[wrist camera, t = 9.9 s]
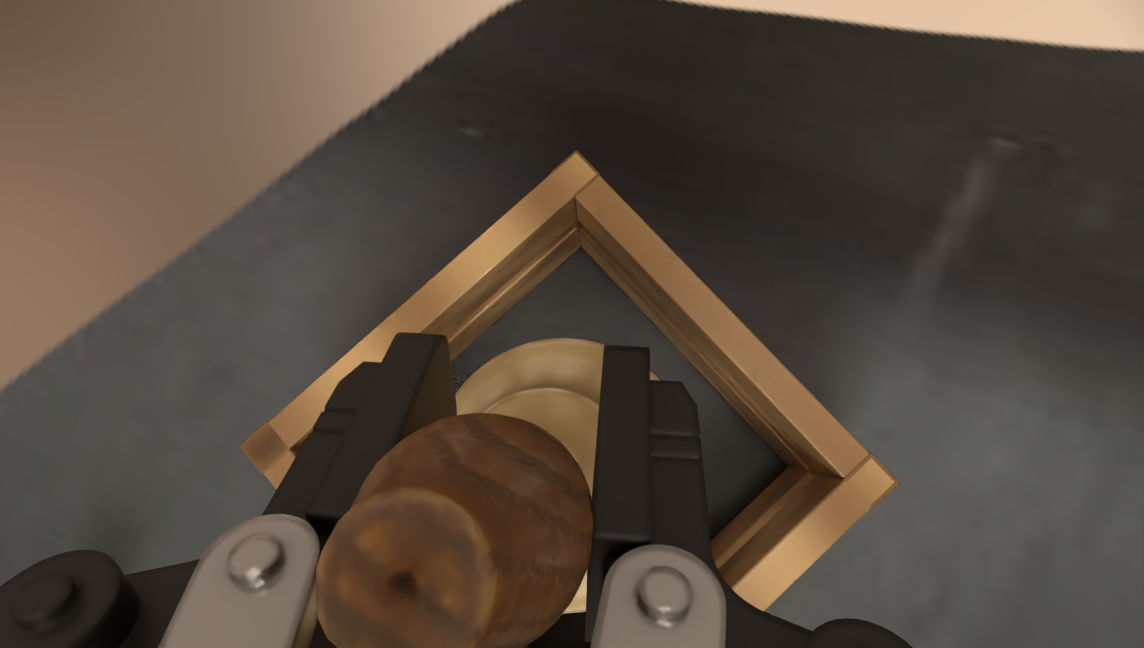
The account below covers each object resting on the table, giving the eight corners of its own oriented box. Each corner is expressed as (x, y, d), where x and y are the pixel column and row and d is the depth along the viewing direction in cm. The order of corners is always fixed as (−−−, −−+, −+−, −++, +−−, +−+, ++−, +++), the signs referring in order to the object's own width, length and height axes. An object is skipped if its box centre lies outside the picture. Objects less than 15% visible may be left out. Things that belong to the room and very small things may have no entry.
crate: (583, 209, 29) (576, 148, 23) (831, 468, 27) (901, 482, 21) (321, 440, 28) (238, 445, 22) (556, 731, 26) (540, 830, 20)
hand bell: (420, 355, 21) (-153, 138, 5) (676, 323, 21) (884, -11, 5) (442, 625, 20) (-243, 1431, 4) (715, 595, 19) (1179, 1342, 4)
